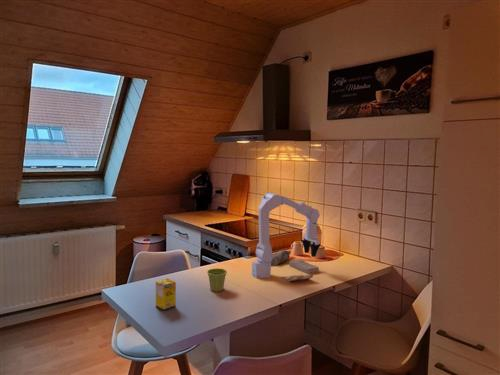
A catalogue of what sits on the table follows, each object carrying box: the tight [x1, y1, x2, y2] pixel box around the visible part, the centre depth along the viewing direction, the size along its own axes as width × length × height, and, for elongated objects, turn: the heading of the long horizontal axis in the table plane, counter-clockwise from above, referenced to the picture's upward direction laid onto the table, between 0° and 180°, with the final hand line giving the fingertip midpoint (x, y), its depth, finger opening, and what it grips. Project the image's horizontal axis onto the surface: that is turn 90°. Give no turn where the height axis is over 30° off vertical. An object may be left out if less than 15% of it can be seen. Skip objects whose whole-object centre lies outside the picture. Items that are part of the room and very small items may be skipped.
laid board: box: [280, 274, 305, 281], centre depth 194 cm, size 13×4×1 cm, turn 113°
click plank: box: [285, 274, 314, 282], centre depth 189 cm, size 12×7×1 cm, turn 113°
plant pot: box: [206, 268, 228, 292], centre depth 177 cm, size 9×9×9 cm
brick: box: [288, 258, 320, 275], centre depth 209 cm, size 17×8×5 cm, turn 33°
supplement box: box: [155, 278, 177, 312], centre depth 156 cm, size 6×6×11 cm
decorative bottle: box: [271, 249, 292, 267], centre depth 225 cm, size 26×8×7 cm, turn 149°
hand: (310, 254), depth 205 cm, fingers open, 7 cm apart
